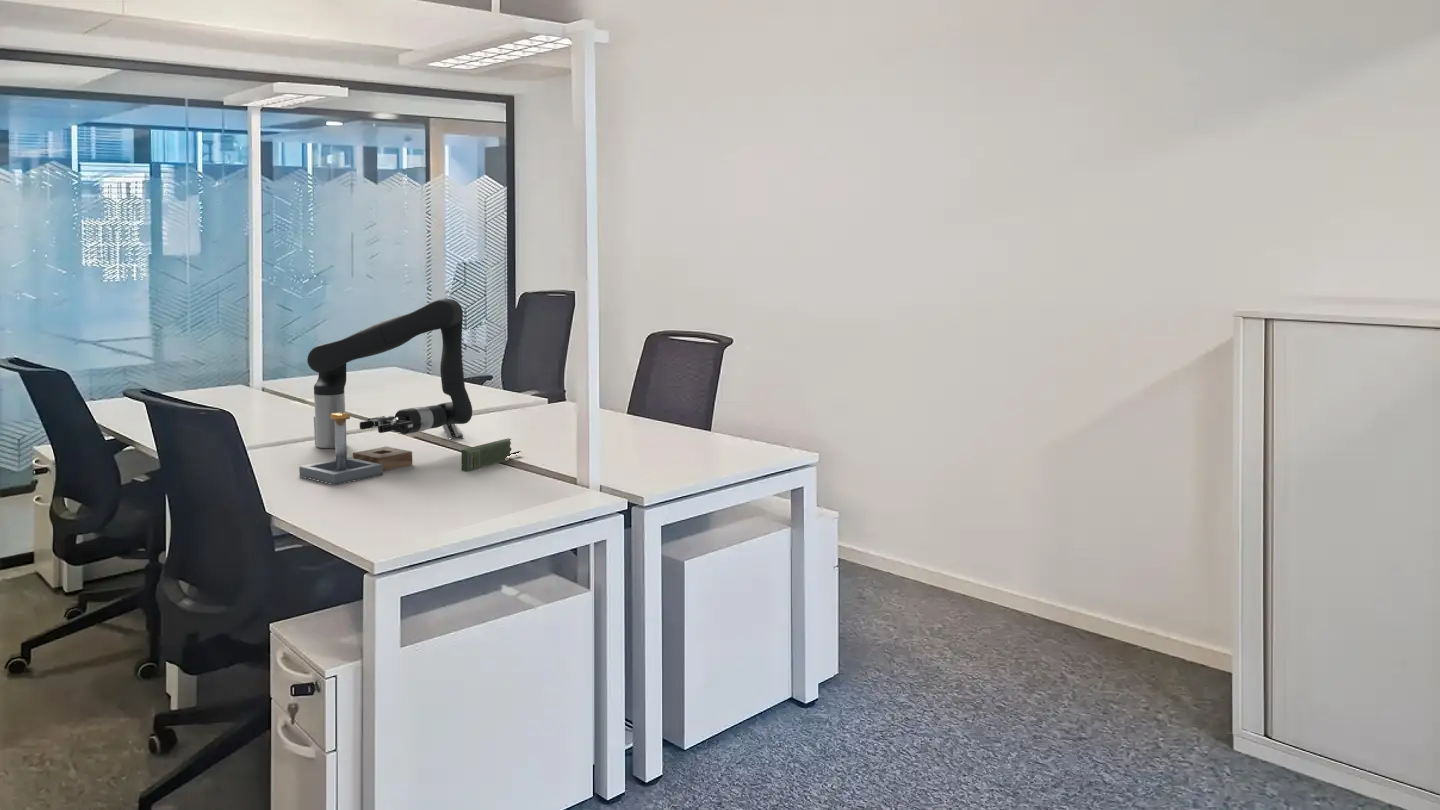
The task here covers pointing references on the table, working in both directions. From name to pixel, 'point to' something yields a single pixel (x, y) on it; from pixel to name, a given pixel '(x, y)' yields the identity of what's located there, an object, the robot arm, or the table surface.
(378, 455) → the socket block
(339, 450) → the pin
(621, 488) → the table surface
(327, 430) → the robot arm
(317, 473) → the tray
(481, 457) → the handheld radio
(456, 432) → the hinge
